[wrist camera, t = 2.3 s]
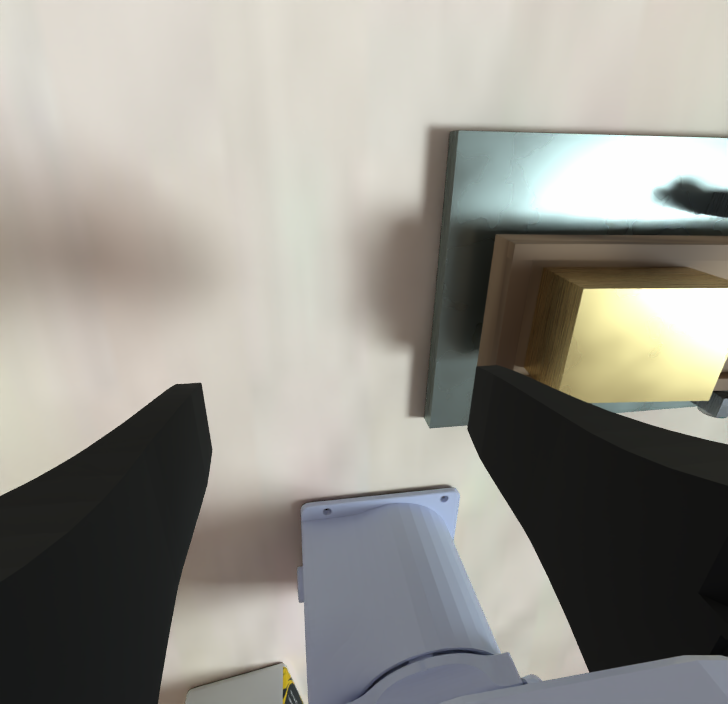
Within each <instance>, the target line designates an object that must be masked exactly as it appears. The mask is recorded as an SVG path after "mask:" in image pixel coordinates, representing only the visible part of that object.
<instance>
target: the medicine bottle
mask: <svg viewBox="0 0 728 704" xmlns="http://www.w3.org/2000/svg"><path fill="white" fill-rule="evenodd" d="M185 704H304V702H303V700H302V698H301V696H300V694H299V692H298V690H297V687H296V685H295V683H294V681H293V679H292V677H291V675H290V673H289V671H288V669H287V666H286V665H285V664H284V663H280V664H277V665H273V666H270V667H266V668H263V669H259V670H256V671H252V672H249V673H245V674H242V675H238V676H235V677H231V678H228V679H224V680H221V681H217V682H214V683H210V684H207V685H203V686H200V687H196V688H193V689H191V690H189V691H188V693H187V695H186V701H185Z"/></svg>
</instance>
